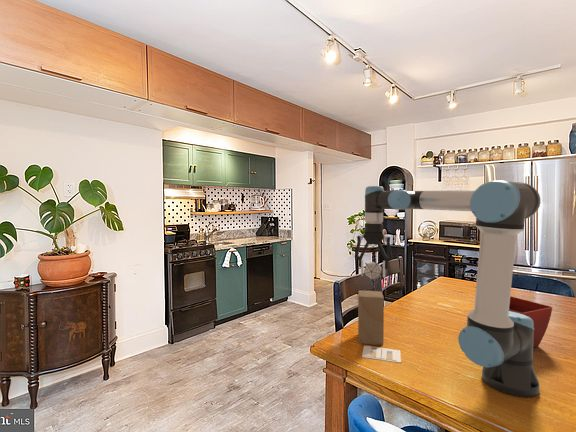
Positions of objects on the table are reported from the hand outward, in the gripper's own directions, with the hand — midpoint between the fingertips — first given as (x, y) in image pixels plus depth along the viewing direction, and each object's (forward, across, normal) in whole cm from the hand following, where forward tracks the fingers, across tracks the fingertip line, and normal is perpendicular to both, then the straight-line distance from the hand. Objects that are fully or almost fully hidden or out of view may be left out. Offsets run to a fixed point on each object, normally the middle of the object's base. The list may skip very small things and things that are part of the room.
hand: (373, 275), depth 133 cm
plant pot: (+28, -56, -16) cm, 65 cm away
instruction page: (+28, -4, +12) cm, 31 cm away
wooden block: (+28, +1, 0) cm, 28 cm away
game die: (+2, 0, 0) cm, 2 cm away
